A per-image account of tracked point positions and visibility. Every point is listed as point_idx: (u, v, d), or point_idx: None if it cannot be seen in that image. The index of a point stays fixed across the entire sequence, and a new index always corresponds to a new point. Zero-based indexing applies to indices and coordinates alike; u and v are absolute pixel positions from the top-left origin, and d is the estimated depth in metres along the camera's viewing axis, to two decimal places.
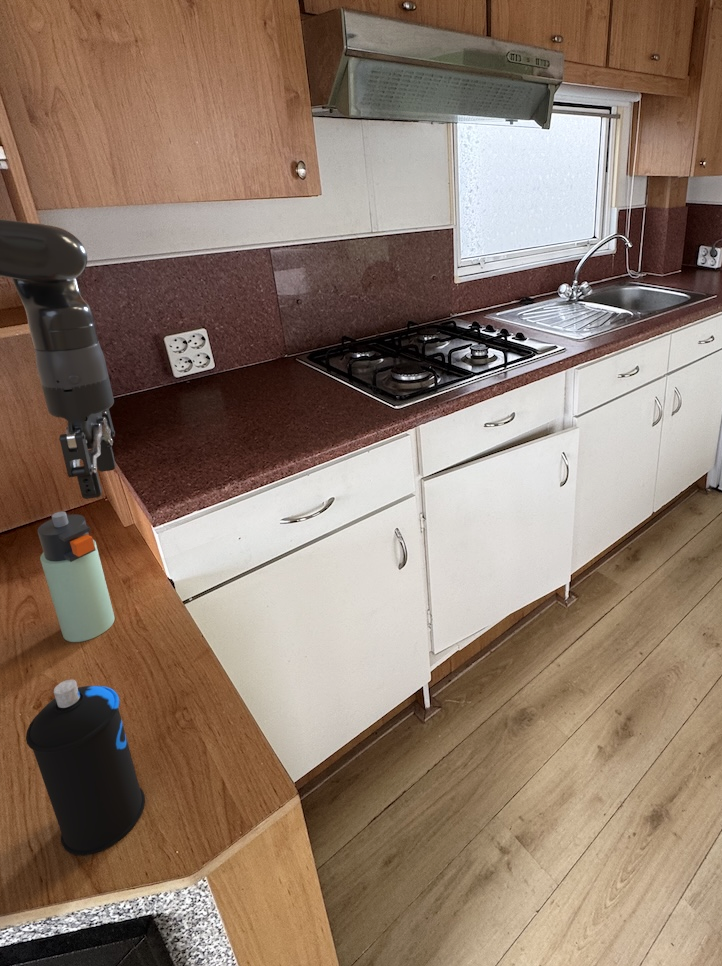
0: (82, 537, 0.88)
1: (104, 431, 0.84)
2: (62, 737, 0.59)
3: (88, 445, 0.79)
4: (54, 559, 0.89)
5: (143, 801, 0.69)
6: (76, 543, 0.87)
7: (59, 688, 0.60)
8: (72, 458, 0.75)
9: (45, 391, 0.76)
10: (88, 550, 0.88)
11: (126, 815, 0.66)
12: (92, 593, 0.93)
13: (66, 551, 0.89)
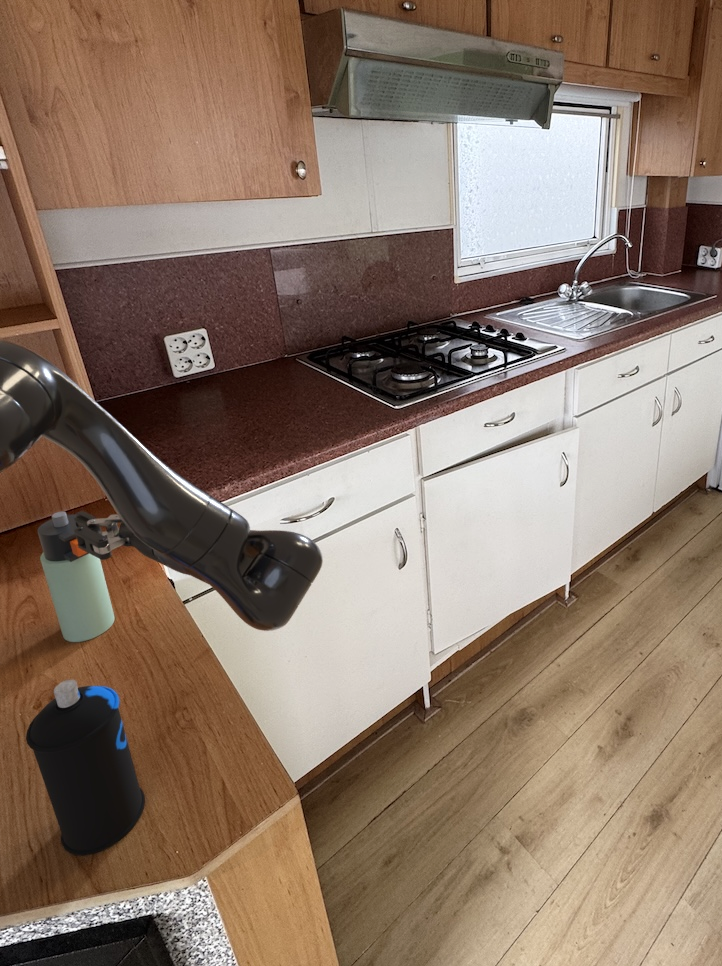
0: None
1: None
2: (62, 737, 0.59)
3: None
4: (54, 559, 0.89)
5: (143, 801, 0.69)
6: (76, 543, 0.87)
7: (59, 688, 0.60)
8: (85, 542, 0.71)
9: None
10: None
11: (126, 815, 0.66)
12: (92, 593, 0.93)
13: (66, 551, 0.89)
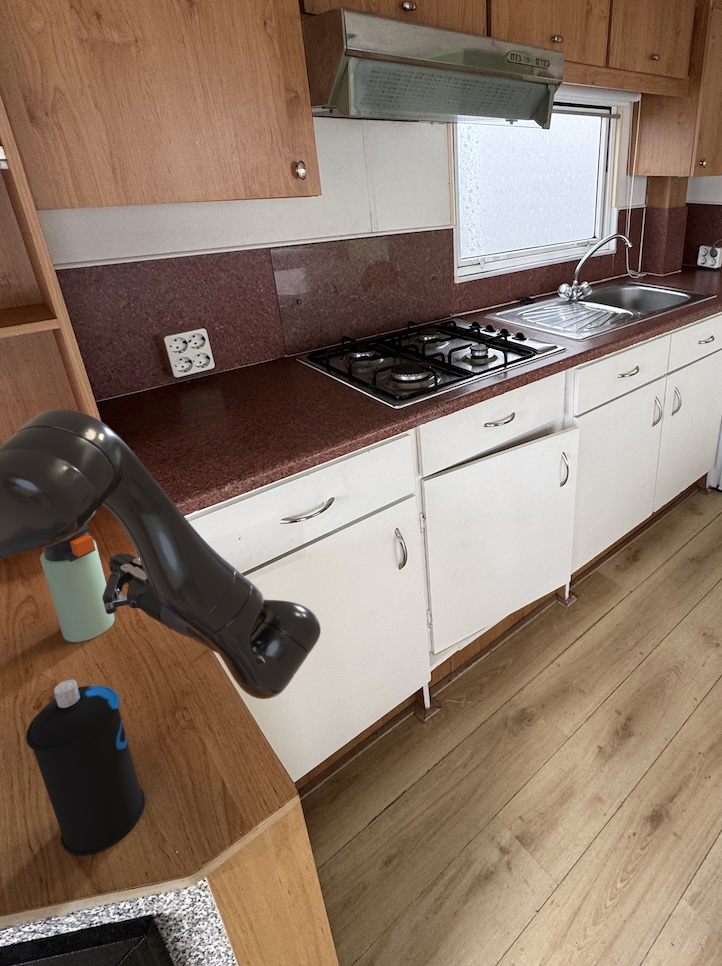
0: (82, 537, 0.88)
1: None
2: (62, 737, 0.59)
3: None
4: (54, 559, 0.89)
5: (143, 801, 0.69)
6: (76, 543, 0.87)
7: (59, 688, 0.60)
8: None
9: None
10: (88, 550, 0.88)
11: (126, 815, 0.66)
12: (92, 593, 0.93)
13: (66, 551, 0.89)
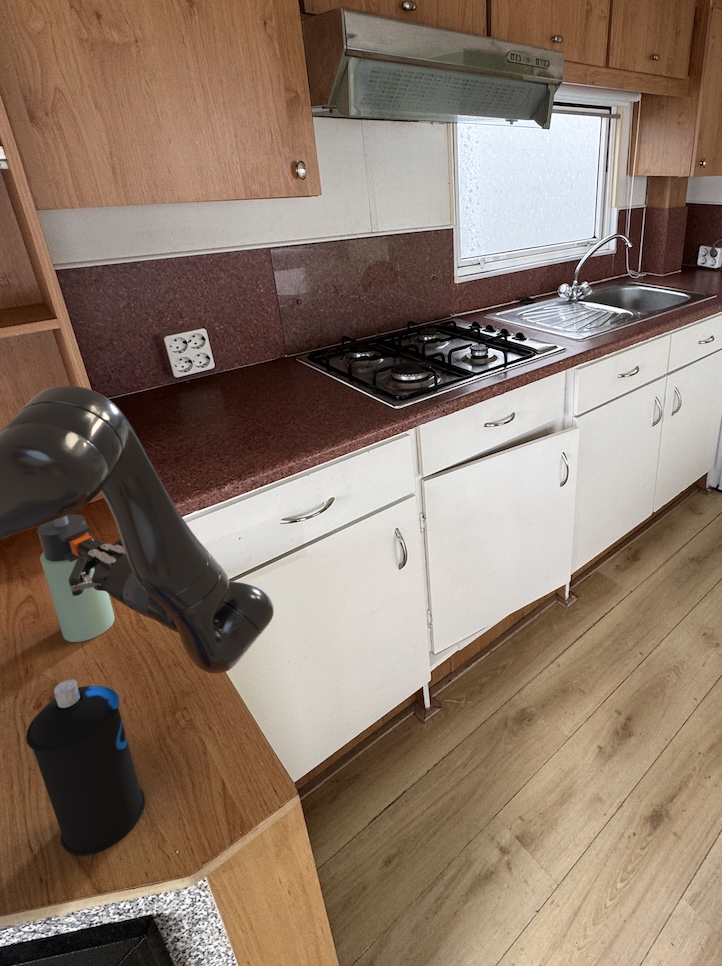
0: (81, 537, 0.88)
1: None
2: (62, 737, 0.59)
3: None
4: (54, 559, 0.89)
5: (143, 801, 0.69)
6: (75, 543, 0.87)
7: (59, 688, 0.60)
8: None
9: (126, 573, 0.78)
10: None
11: (126, 815, 0.66)
12: (92, 593, 0.93)
13: (66, 551, 0.89)
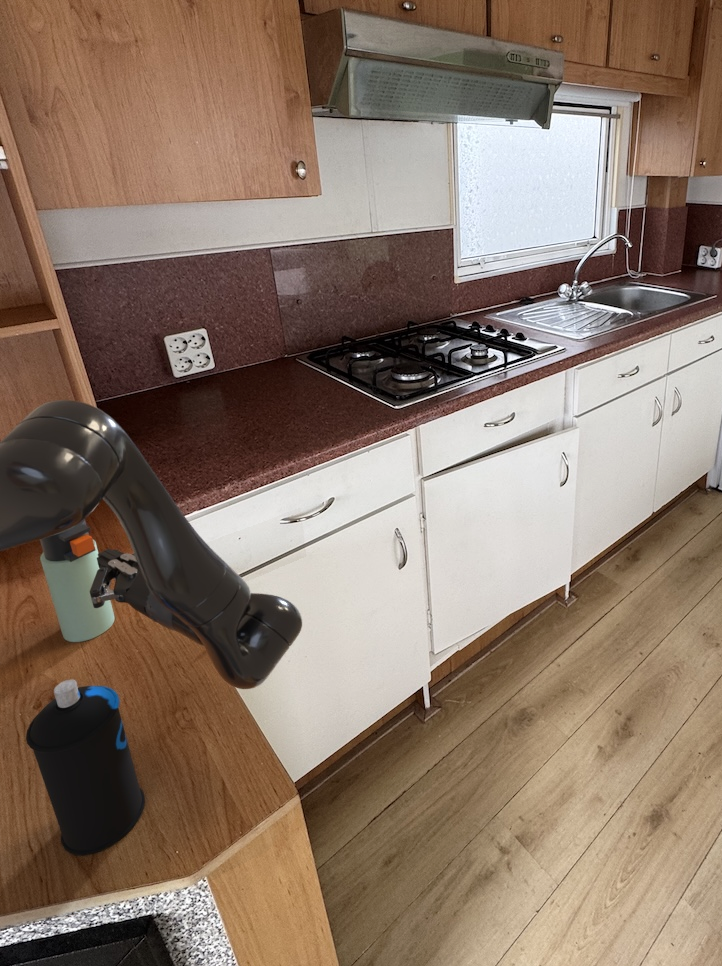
0: (81, 537, 0.88)
1: None
2: (62, 737, 0.59)
3: None
4: (54, 559, 0.89)
5: (143, 801, 0.69)
6: (76, 543, 0.87)
7: (59, 688, 0.60)
8: None
9: None
10: (88, 550, 0.88)
11: (126, 815, 0.66)
12: None
13: (66, 551, 0.89)
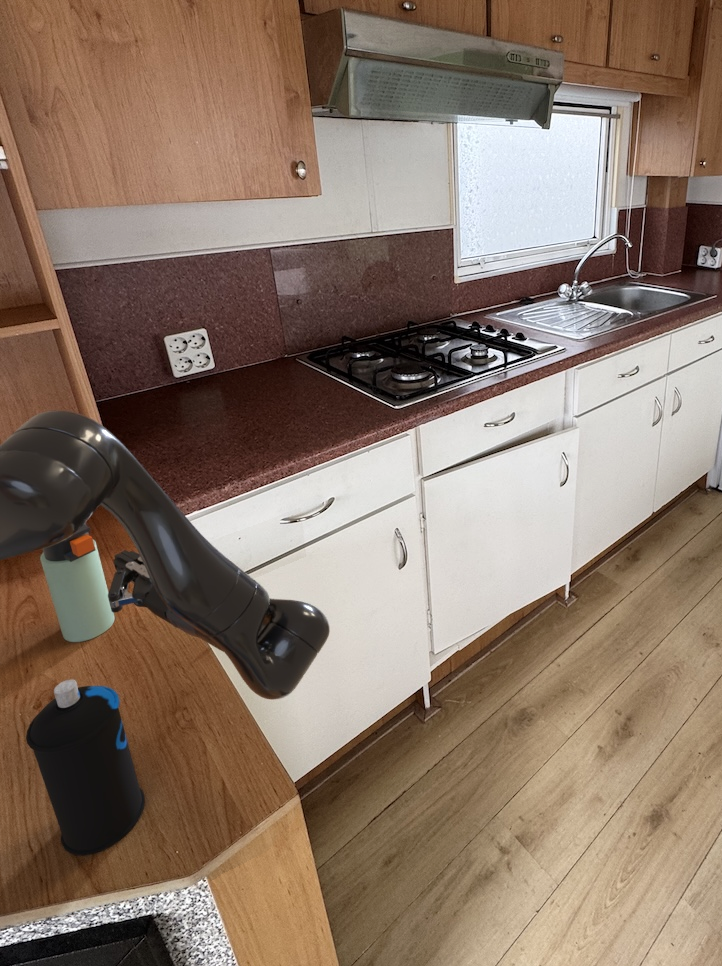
0: (81, 537, 0.88)
1: None
2: (62, 737, 0.59)
3: None
4: (54, 559, 0.89)
5: (143, 801, 0.69)
6: (76, 543, 0.87)
7: (59, 688, 0.60)
8: None
9: None
10: (88, 550, 0.88)
11: (126, 815, 0.66)
12: (92, 593, 0.93)
13: (66, 551, 0.89)
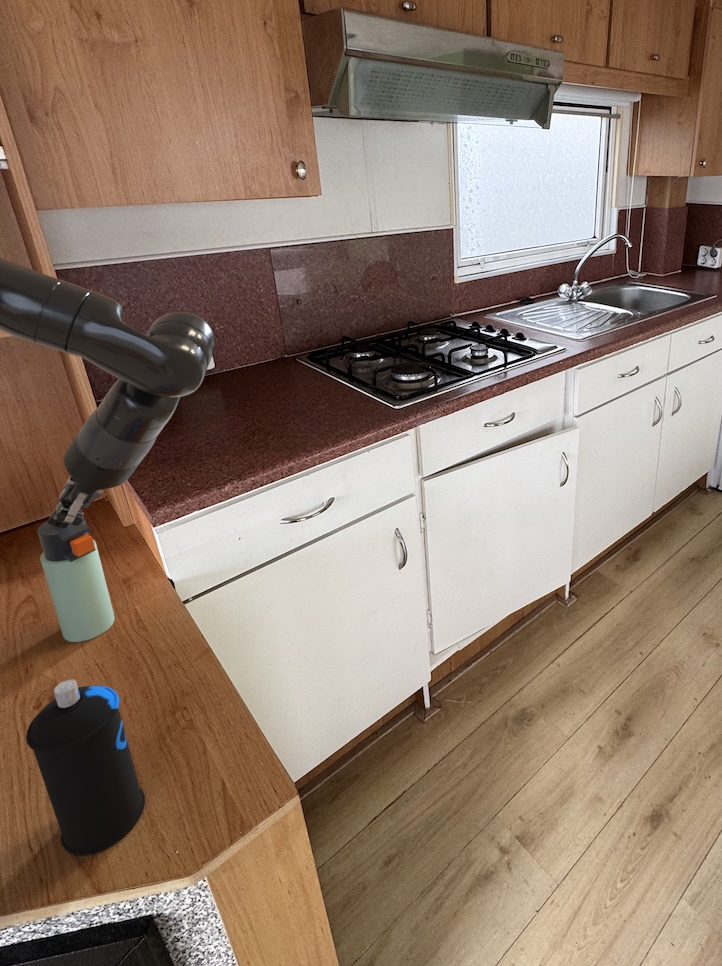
0: (81, 537, 0.88)
1: None
2: (62, 737, 0.59)
3: None
4: (54, 559, 0.89)
5: (143, 801, 0.69)
6: (76, 543, 0.87)
7: (59, 688, 0.60)
8: None
9: (77, 453, 0.68)
10: (88, 550, 0.88)
11: (126, 815, 0.66)
12: (92, 593, 0.93)
13: (66, 551, 0.89)
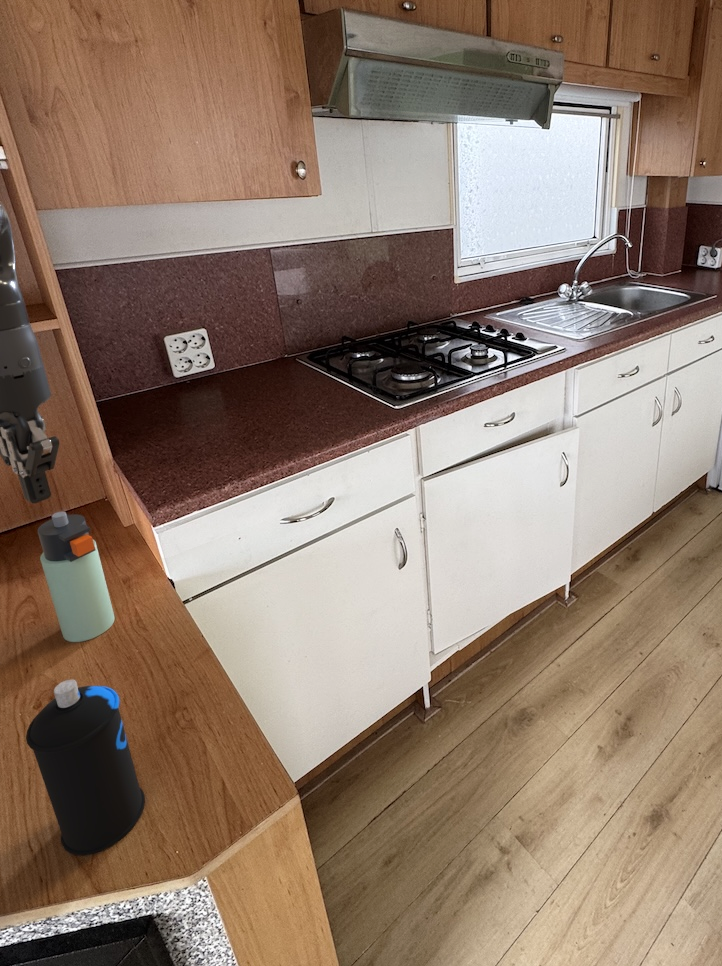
0: (81, 537, 0.88)
1: None
2: (62, 737, 0.59)
3: None
4: (54, 559, 0.89)
5: (143, 801, 0.69)
6: (76, 543, 0.87)
7: (59, 688, 0.60)
8: (41, 462, 0.67)
9: None
10: (88, 550, 0.88)
11: (126, 815, 0.66)
12: (92, 593, 0.93)
13: (66, 551, 0.89)
